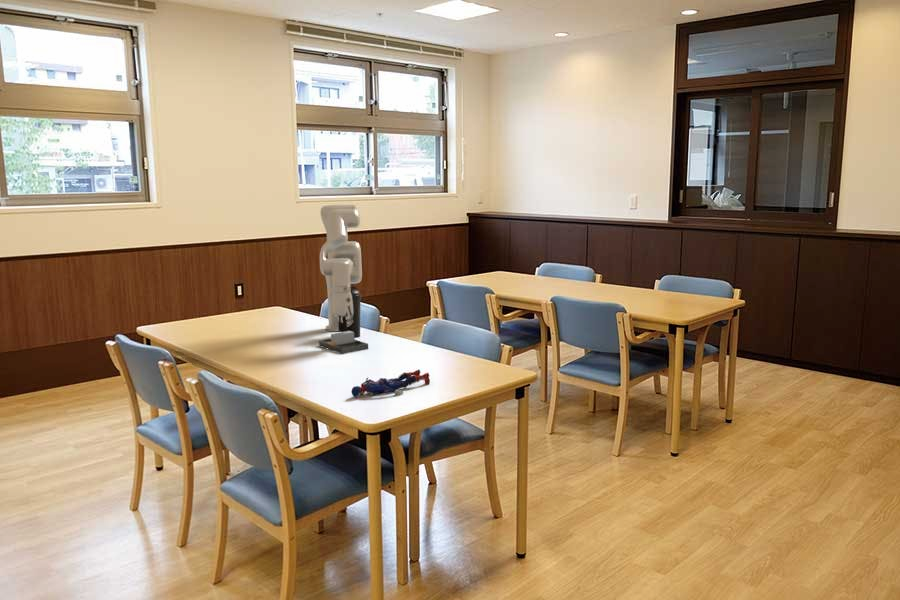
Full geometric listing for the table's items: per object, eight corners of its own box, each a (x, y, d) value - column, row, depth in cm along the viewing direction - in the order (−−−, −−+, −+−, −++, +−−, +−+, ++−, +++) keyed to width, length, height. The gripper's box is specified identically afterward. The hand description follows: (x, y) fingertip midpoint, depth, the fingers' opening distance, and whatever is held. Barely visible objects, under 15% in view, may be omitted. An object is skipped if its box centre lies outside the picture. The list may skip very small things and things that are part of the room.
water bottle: (335, 337, 319) (334, 288, 315) (347, 332, 328) (345, 285, 324) (355, 339, 315) (353, 289, 311) (366, 334, 324) (364, 286, 320)
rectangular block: (349, 343, 304) (349, 330, 303) (354, 344, 302) (354, 332, 301) (331, 346, 298) (331, 334, 297) (335, 348, 296) (335, 335, 295)
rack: (344, 341, 311) (343, 334, 311) (368, 348, 297) (368, 342, 297) (318, 345, 303) (318, 339, 302) (342, 353, 289) (342, 347, 288)
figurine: (412, 378, 255) (341, 394, 236) (411, 363, 254) (340, 378, 235) (436, 387, 244) (364, 404, 225) (436, 371, 243) (363, 388, 224)
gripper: (358, 290, 293) (359, 332, 296) (339, 286, 304) (340, 327, 307) (343, 292, 288) (344, 335, 291) (324, 288, 299) (326, 329, 302)
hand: (342, 331), depth 299 cm, fingers closed
